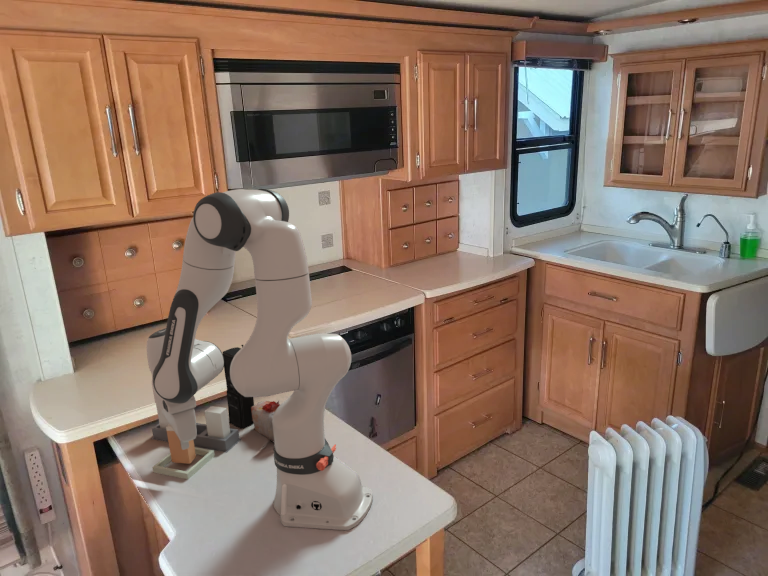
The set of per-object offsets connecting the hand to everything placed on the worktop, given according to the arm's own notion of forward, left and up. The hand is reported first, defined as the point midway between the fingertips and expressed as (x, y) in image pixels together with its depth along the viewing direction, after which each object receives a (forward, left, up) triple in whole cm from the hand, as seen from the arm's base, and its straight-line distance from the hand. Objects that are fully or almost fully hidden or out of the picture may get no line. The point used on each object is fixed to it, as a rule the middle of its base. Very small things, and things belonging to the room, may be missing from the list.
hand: (181, 441), depth 142 cm
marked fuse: (0, 0, -5) cm, 5 cm away
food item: (-14, -21, -8) cm, 26 cm away
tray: (0, 0, -7) cm, 7 cm away
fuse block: (+5, -11, -7) cm, 14 cm away
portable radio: (-2, -23, -8) cm, 24 cm away
